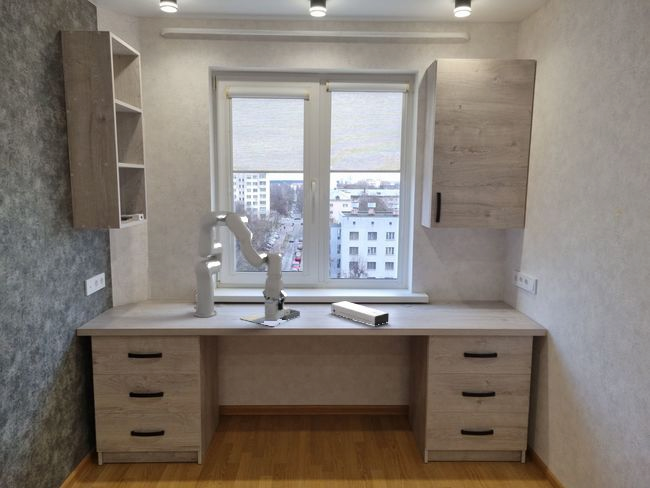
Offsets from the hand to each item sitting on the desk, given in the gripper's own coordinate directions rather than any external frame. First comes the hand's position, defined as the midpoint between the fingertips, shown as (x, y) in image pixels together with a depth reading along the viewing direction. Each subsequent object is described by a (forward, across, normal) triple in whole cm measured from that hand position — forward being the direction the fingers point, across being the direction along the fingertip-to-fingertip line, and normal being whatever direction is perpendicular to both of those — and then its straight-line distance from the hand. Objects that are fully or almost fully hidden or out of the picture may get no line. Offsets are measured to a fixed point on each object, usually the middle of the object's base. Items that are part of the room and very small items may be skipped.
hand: (274, 308), depth 236 cm
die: (+8, -4, +13) cm, 16 cm away
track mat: (+8, -8, 0) cm, 11 cm away
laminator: (+9, +30, +37) cm, 49 cm away
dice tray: (+8, -4, +13) cm, 16 cm away
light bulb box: (+6, 0, 0) cm, 6 cm away
